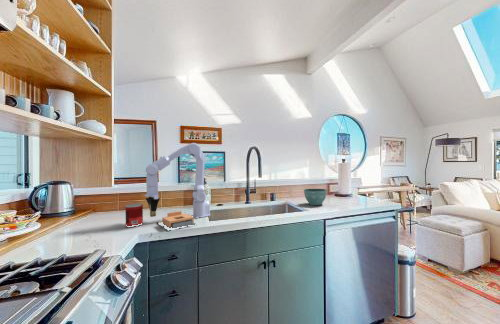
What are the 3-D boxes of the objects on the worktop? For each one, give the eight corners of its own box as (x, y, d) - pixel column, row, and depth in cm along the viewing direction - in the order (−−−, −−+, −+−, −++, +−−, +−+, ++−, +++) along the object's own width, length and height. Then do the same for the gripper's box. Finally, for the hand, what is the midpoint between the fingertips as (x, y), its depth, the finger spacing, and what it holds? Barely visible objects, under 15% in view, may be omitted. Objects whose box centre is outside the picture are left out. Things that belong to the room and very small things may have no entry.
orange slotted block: (185, 219, 118) (185, 210, 118) (193, 223, 109) (193, 213, 109) (162, 223, 110) (162, 213, 110) (169, 228, 101) (169, 217, 101)
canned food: (146, 223, 114) (145, 203, 114) (134, 228, 107) (134, 206, 107) (134, 223, 116) (134, 203, 116) (122, 227, 109) (121, 205, 109)
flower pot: (299, 203, 161) (299, 189, 161) (316, 201, 167) (315, 187, 168) (314, 207, 146) (314, 191, 146) (332, 205, 153) (331, 189, 153)
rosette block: (182, 218, 123) (182, 213, 123) (196, 225, 109) (196, 219, 109) (157, 223, 114) (156, 218, 114) (168, 231, 100) (168, 225, 100)
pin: (155, 215, 119) (154, 202, 119) (156, 216, 117) (156, 203, 117) (149, 216, 117) (149, 203, 117) (150, 217, 115) (150, 204, 115)
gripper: (141, 186, 120) (141, 210, 120) (147, 187, 109) (148, 214, 109) (154, 184, 125) (155, 208, 124) (162, 186, 113) (162, 212, 113)
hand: (152, 210), depth 117 cm, fingers closed on pin, 3 cm apart
